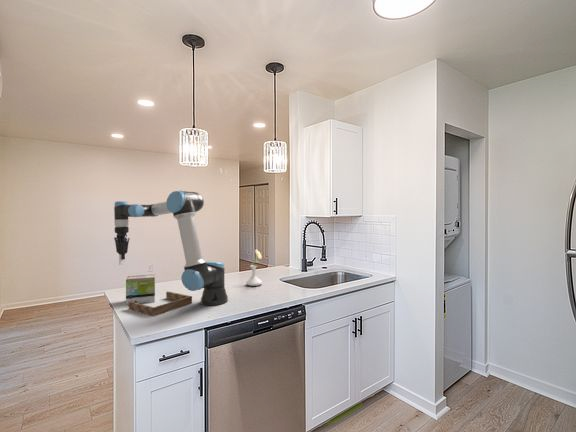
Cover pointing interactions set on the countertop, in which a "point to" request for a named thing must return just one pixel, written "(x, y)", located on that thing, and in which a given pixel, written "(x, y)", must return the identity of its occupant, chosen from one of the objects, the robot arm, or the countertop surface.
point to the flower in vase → (254, 280)
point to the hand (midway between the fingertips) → (122, 264)
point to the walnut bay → (153, 311)
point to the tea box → (140, 288)
